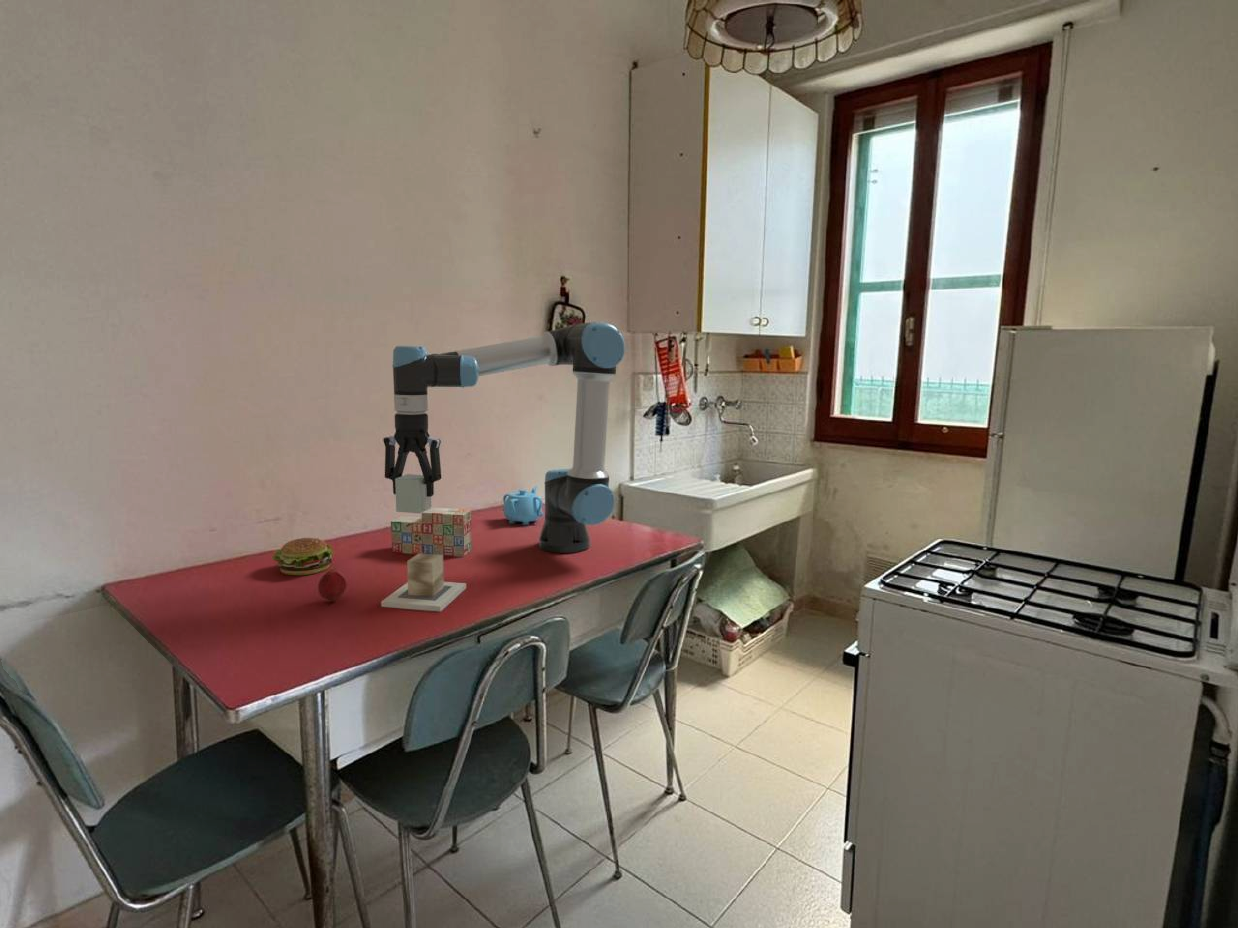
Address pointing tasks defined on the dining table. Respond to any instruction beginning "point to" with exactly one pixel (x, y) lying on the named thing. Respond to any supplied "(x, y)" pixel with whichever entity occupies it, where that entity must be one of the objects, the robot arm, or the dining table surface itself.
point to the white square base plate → (424, 598)
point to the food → (303, 556)
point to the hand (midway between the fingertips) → (413, 508)
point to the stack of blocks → (433, 533)
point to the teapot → (523, 506)
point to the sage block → (409, 493)
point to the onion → (332, 585)
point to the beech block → (425, 575)
